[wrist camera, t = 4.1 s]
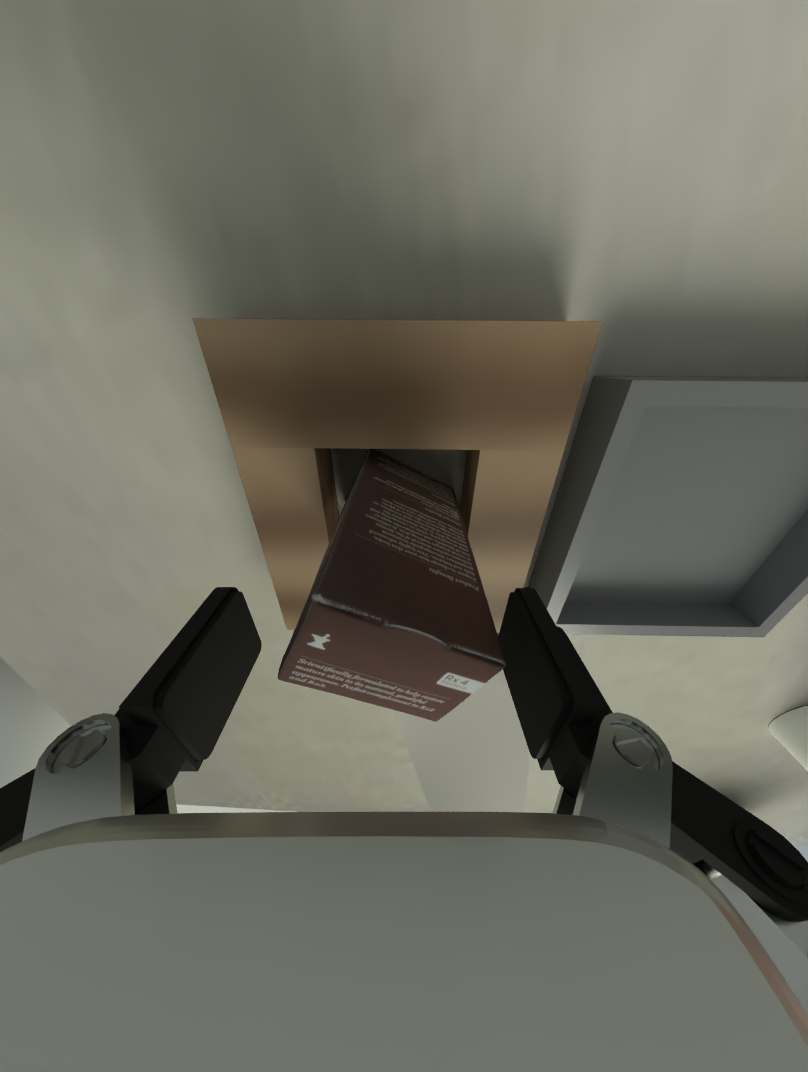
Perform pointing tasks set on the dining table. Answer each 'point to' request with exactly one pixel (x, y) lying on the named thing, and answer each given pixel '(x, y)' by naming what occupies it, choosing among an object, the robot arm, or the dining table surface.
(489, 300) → the dining table surface
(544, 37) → the dining table surface
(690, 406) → the tray
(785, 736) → the cylindrical container
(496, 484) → the socket board
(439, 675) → the box
